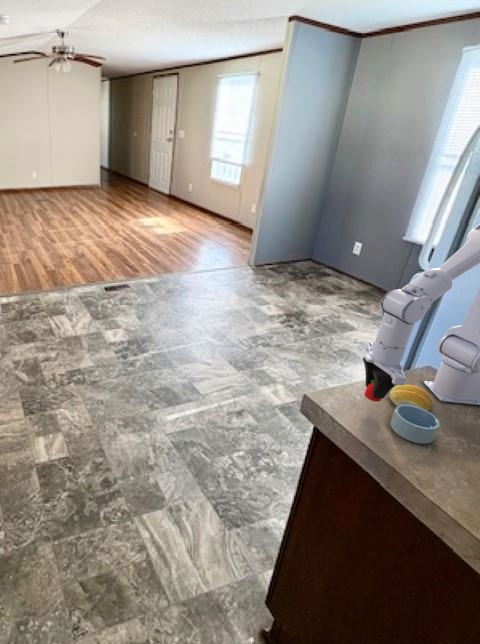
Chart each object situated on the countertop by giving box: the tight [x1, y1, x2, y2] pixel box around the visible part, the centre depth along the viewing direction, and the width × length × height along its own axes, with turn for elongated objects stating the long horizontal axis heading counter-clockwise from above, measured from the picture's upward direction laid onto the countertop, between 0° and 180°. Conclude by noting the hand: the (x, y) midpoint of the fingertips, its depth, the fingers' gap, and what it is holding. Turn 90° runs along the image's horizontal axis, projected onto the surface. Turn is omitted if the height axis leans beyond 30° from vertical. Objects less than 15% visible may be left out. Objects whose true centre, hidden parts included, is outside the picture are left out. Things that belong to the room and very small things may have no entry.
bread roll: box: [389, 383, 433, 412], centre depth 103 cm, size 8×9×4 cm
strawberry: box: [364, 380, 382, 403], centre depth 99 cm, size 3×3×4 cm
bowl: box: [389, 404, 441, 445], centre depth 93 cm, size 8×8×4 cm
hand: (374, 392), depth 100 cm, fingers closed on strawberry, 3 cm apart
